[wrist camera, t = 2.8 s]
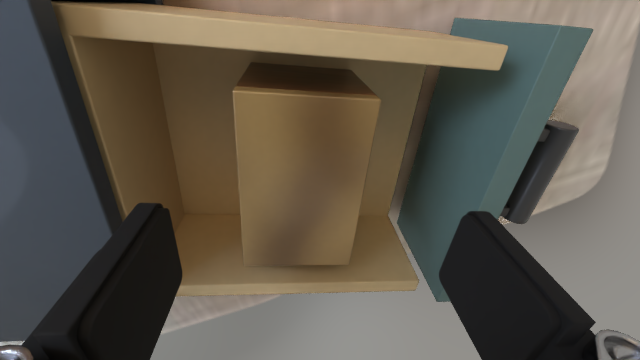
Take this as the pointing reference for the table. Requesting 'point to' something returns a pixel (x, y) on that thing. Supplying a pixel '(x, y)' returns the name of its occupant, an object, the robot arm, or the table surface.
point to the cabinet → (45, 169)
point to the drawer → (388, 146)
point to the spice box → (301, 162)
